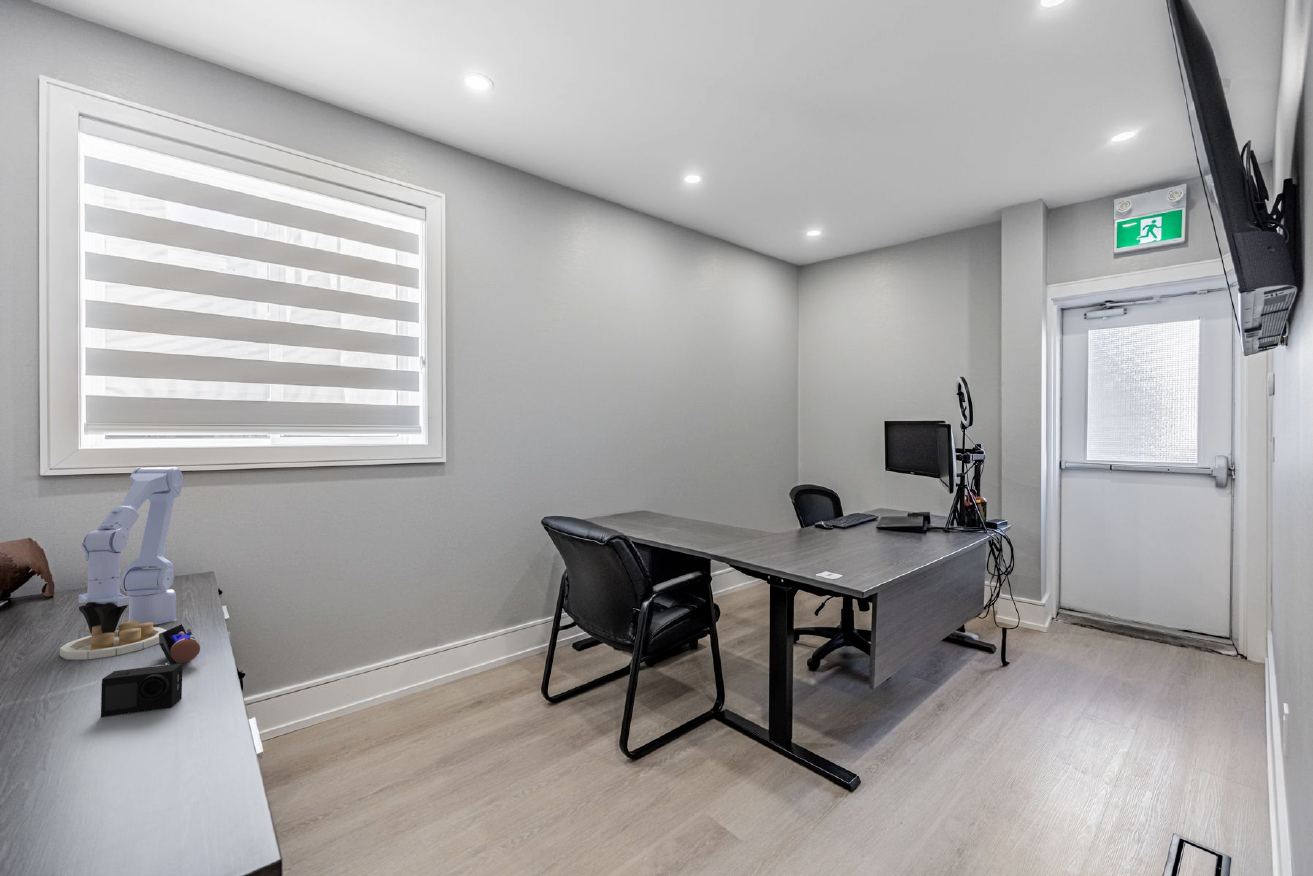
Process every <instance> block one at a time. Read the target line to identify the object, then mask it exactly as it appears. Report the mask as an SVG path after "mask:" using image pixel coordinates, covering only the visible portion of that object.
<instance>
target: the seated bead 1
mask: <svg viewBox="0 0 1313 876" xmlns="http://www.w3.org/2000/svg"><path fill="white" fill-rule="evenodd" d="M113 641H114V633H102V634H97V635H94V636H91V649H90V650H95V649H102V648H110V647H113Z"/></svg>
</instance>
